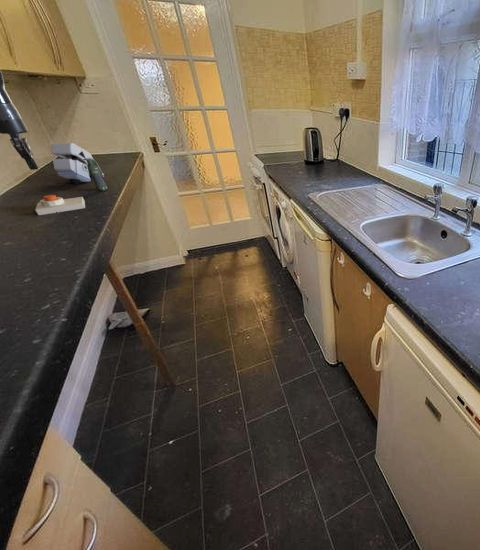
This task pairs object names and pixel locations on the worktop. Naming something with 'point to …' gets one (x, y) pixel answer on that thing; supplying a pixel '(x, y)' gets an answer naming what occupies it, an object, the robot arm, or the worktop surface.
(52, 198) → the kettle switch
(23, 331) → the worktop surface
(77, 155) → the robotic device
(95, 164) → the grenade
